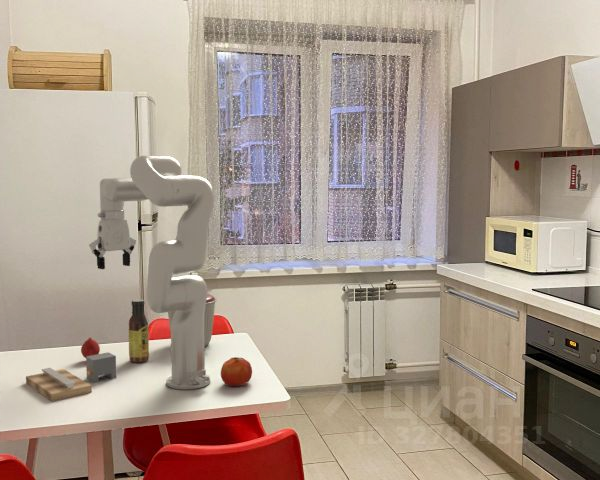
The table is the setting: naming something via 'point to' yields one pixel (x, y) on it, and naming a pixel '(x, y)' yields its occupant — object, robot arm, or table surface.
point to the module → (100, 366)
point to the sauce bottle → (138, 333)
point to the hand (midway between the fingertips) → (114, 267)
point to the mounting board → (58, 386)
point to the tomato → (236, 371)
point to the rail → (58, 378)
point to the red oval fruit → (90, 348)
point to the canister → (207, 318)
